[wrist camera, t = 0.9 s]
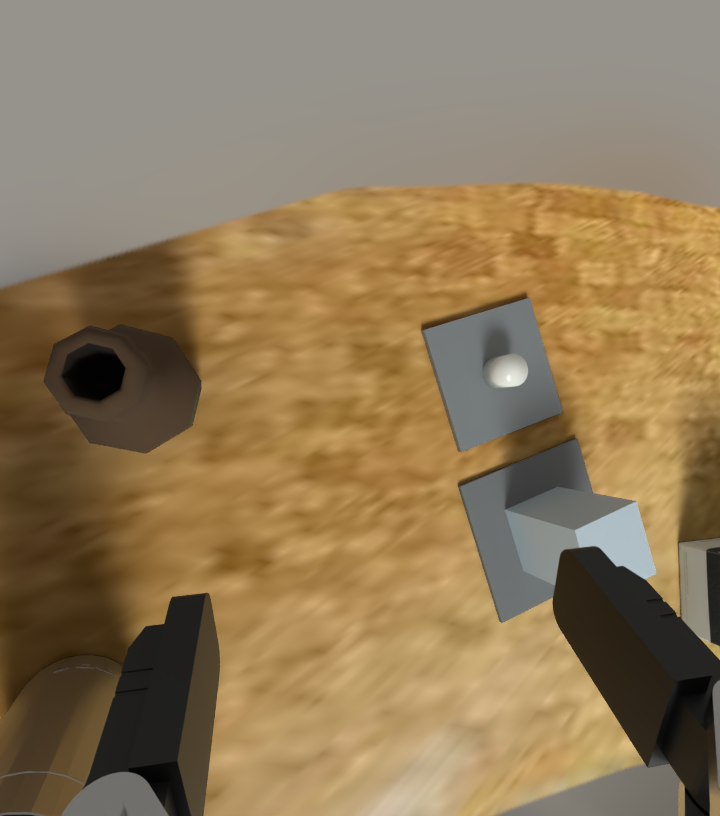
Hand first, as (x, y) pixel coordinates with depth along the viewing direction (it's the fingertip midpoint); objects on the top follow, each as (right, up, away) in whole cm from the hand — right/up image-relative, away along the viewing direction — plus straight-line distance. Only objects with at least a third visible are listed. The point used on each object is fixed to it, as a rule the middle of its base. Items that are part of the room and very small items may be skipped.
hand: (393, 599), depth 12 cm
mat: (+17, -8, +41) cm, 45 cm away
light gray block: (+17, -8, +40) cm, 45 cm away
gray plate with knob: (+12, +8, +40) cm, 42 cm away
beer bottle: (-18, +5, +31) cm, 36 cm away
